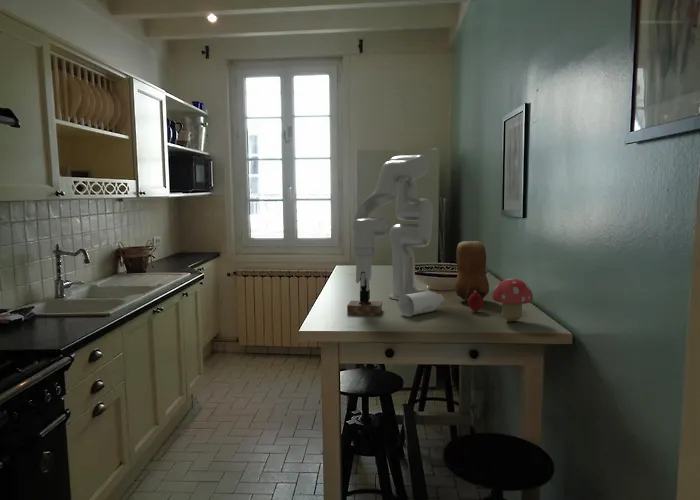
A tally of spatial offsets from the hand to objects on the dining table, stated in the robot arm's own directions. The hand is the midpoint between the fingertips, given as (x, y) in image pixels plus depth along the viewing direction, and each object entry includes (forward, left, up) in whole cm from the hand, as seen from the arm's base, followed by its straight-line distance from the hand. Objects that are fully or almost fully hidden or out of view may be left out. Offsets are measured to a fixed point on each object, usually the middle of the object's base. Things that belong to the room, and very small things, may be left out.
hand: (364, 300), depth 195 cm
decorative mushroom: (-52, +9, -5) cm, 53 cm away
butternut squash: (-41, -24, -5) cm, 48 cm away
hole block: (0, 0, -5) cm, 5 cm away
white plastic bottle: (-21, -2, -5) cm, 21 cm away
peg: (0, 0, -3) cm, 3 cm away
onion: (-41, -5, -5) cm, 42 cm away
